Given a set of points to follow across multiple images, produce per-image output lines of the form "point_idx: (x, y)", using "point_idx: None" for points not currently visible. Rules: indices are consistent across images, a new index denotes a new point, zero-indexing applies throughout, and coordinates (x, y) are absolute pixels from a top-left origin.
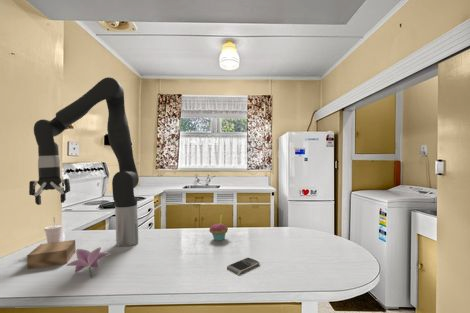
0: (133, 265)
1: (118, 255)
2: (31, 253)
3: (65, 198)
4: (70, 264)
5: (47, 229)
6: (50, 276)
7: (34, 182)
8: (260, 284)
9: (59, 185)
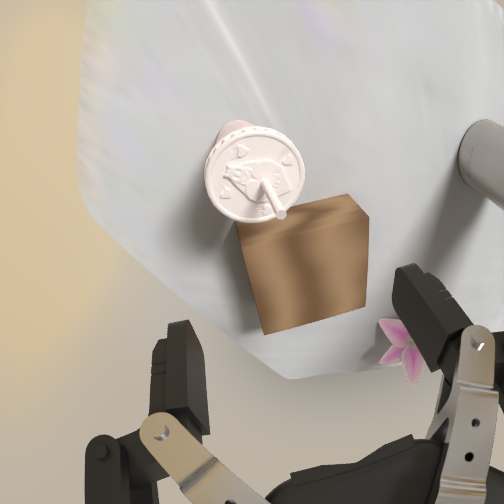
0: (466, 293)
1: (455, 245)
2: (269, 326)
3: (444, 291)
4: (386, 359)
5: (245, 221)
6: (334, 333)
7: None
8: None
9: (484, 449)
